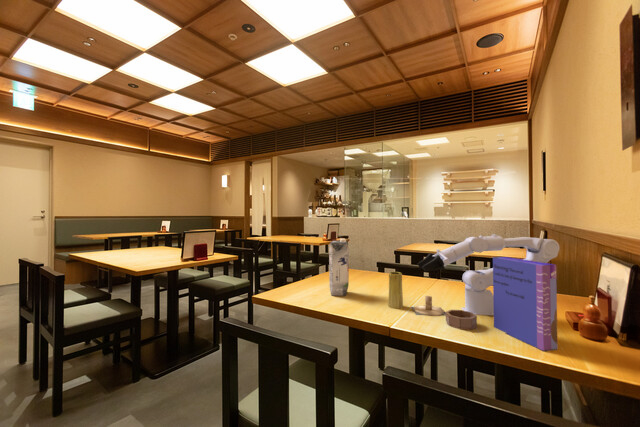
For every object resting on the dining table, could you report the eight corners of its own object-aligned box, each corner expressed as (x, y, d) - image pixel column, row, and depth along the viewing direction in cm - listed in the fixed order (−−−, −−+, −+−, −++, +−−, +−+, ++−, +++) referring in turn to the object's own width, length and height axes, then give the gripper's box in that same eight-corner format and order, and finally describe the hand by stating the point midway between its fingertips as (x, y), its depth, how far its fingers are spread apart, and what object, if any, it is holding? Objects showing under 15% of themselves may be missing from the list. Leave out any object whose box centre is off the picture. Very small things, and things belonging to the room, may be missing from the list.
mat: (440, 308, 119) (440, 307, 119) (448, 316, 109) (448, 315, 109) (410, 307, 120) (410, 306, 120) (416, 315, 110) (416, 314, 110)
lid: (438, 307, 120) (438, 293, 120) (447, 316, 109) (447, 301, 109) (411, 306, 121) (411, 292, 121) (417, 315, 110) (417, 300, 110)
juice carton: (328, 296, 139) (328, 239, 139) (331, 290, 149) (331, 237, 150) (347, 296, 137) (347, 239, 138) (349, 291, 148) (348, 238, 148)
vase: (403, 310, 117) (403, 274, 118) (388, 309, 119) (388, 274, 119) (402, 305, 123) (402, 271, 124) (387, 304, 125) (387, 271, 125)
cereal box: (557, 349, 82) (556, 264, 82) (543, 351, 81) (542, 264, 81) (505, 327, 99) (504, 256, 99) (493, 328, 98) (492, 256, 98)
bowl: (469, 321, 104) (469, 310, 104) (480, 331, 95) (480, 318, 95) (443, 320, 105) (443, 309, 105) (451, 330, 96) (451, 318, 96)
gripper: (442, 243, 123) (412, 256, 123) (455, 246, 108) (421, 260, 109) (449, 258, 122) (419, 271, 123) (463, 263, 108) (429, 278, 109)
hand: (421, 267), depth 116 cm, fingers open, 7 cm apart
